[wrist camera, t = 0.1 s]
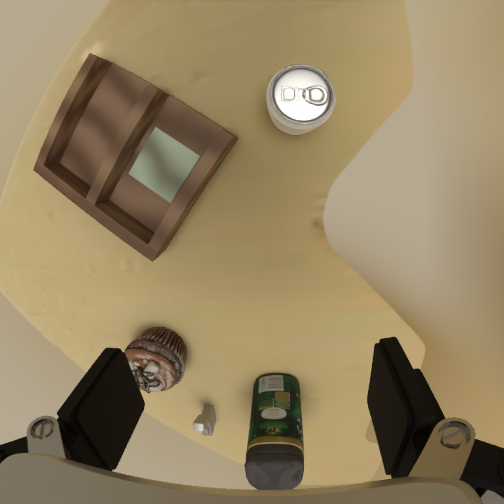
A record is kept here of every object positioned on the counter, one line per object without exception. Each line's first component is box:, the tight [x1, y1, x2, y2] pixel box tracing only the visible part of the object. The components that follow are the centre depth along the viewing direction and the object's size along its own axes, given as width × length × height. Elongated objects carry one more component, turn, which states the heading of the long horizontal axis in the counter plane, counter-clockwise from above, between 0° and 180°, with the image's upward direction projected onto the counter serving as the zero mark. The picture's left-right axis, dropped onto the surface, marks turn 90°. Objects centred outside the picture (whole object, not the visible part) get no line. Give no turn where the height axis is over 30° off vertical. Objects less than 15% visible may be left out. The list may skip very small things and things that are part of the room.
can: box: [266, 64, 335, 135], centre depth 30 cm, size 6×6×12 cm
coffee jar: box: [245, 374, 304, 490], centre depth 41 cm, size 10×8×19 cm
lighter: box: [193, 404, 216, 436], centre depth 48 cm, size 7×2×8 cm, turn 3°
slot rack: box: [33, 53, 238, 262], centre depth 36 cm, size 18×23×5 cm
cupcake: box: [124, 327, 187, 393], centre depth 44 cm, size 10×10×10 cm
